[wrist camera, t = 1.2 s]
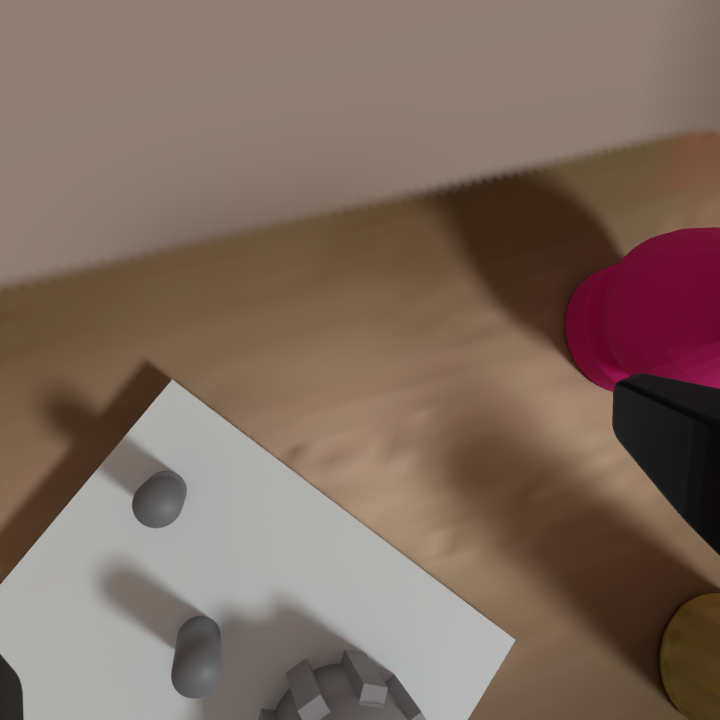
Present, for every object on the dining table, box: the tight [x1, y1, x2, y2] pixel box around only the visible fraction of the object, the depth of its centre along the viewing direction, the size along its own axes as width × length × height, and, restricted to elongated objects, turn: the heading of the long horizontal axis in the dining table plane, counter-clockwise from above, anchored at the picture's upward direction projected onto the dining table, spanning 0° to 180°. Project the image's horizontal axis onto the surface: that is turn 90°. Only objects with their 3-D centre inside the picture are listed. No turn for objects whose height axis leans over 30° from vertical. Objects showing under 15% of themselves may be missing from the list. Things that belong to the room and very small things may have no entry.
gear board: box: [0, 380, 515, 720], centre depth 22 cm, size 14×18×5 cm
